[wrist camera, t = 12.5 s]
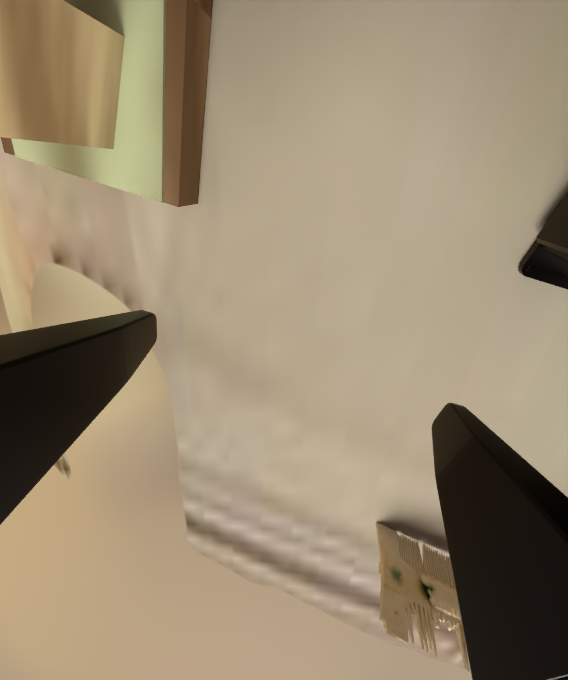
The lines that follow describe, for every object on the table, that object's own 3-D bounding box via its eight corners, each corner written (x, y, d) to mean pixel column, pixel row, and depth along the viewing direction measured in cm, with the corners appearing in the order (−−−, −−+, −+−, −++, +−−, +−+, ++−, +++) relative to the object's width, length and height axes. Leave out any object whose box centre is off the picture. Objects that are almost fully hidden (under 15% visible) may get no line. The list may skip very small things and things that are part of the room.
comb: (368, 525, 34) (372, 641, 26) (377, 516, 33) (385, 635, 24) (483, 573, 34) (525, 705, 25) (497, 565, 33) (547, 703, 24)
